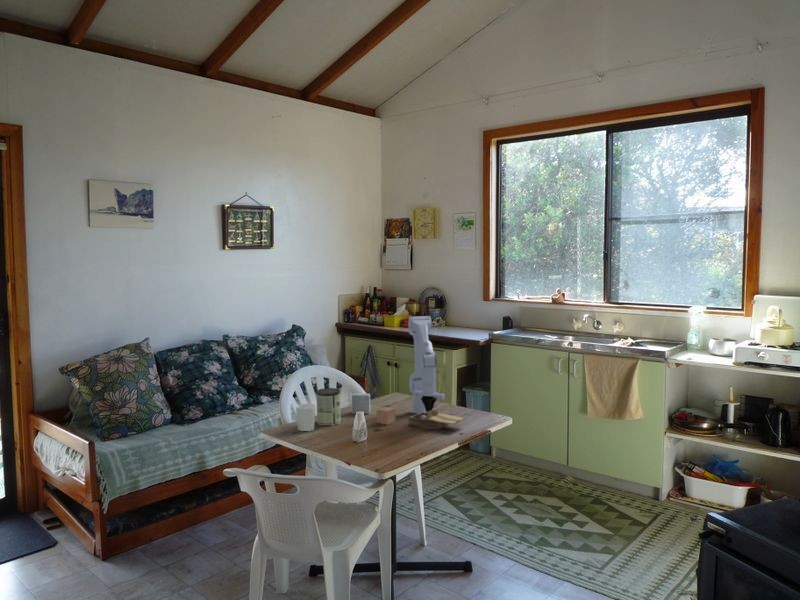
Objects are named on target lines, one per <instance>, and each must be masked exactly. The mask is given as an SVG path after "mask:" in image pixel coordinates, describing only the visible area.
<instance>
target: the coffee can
mask: <svg viewBox="0 0 800 600" xmlns="http://www.w3.org/2000/svg"><path fill="white" fill-rule="evenodd" d="M315 393H316V394H315V395H316V416H317V417H316V420H317V421H316V423H318V424H317V425H318V426H322V425H332V426H336V425H335V424H337V425H339V424H341V423H342V421H341V419H342V418H341V389H339V388H334V387H327V388H320V389H317V390H315Z"/></svg>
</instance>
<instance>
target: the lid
mask: <svg viewBox="0 0 800 600" xmlns="http://www.w3.org/2000/svg"><path fill="white" fill-rule="evenodd" d="M424 420H429V421H435V422H440V423H446V424H449V425H452V426H454V425H455V424H458V423H460V422H462V421H465V420H466V417H463V416H458V415H452V414H445V413H440V412H439V408H437V407H435V408H433V410H430V411H428V412H427V417H426V418H424Z"/></svg>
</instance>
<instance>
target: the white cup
mask: <svg viewBox="0 0 800 600" xmlns="http://www.w3.org/2000/svg"><path fill="white" fill-rule="evenodd" d="M295 411H296V412H295V413H296V414H295V415H296V423H297V430H298V431H299V430H300V431H299V432H301V431H309V432H312V431H314V430H315V422H316V405H315V404H313V403H300V404H298V405H296V406H295ZM311 430H312V431H311Z"/></svg>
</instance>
